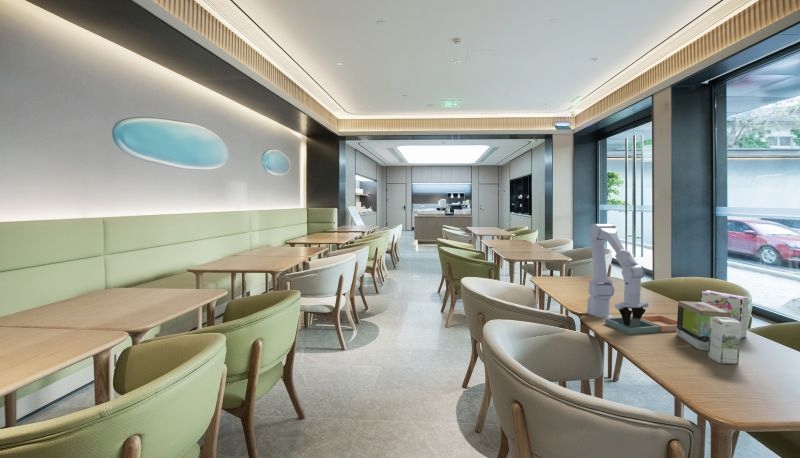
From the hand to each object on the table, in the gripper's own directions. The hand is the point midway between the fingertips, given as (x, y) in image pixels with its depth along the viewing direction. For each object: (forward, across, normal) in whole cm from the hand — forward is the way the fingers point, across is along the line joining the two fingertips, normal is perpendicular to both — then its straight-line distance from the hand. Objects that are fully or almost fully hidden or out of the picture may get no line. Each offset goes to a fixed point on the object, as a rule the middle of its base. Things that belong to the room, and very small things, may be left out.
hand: (631, 324), depth 153 cm
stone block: (+1, 0, 0) cm, 1 cm away
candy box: (+2, +33, -11) cm, 35 cm away
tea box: (+2, +13, -19) cm, 23 cm away
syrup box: (+2, +5, -33) cm, 34 cm away
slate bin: (+2, 0, 0) cm, 2 cm away
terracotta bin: (+2, +15, 0) cm, 15 cm away
